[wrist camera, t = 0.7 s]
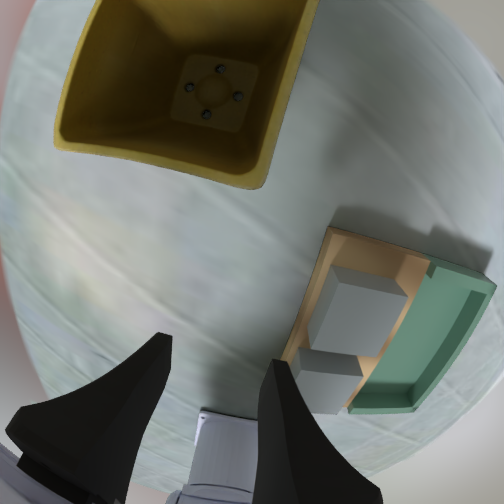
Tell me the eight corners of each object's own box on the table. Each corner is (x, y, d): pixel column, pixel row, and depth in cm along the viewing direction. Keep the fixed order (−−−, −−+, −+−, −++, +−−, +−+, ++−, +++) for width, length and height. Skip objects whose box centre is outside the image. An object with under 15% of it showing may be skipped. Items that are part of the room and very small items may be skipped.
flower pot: (302, 50, 14) (327, -23, 5) (265, 172, 17) (261, 195, 8) (174, 29, 13) (113, -33, 5) (139, 143, 16) (48, 149, 8)
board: (344, 395, 24) (347, 407, 22) (268, 387, 24) (268, 399, 22) (420, 252, 18) (430, 261, 16) (327, 226, 18) (333, 233, 16)
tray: (407, 396, 24) (413, 412, 22) (344, 395, 24) (348, 414, 21) (482, 273, 18) (497, 285, 16) (420, 252, 18) (436, 266, 16)
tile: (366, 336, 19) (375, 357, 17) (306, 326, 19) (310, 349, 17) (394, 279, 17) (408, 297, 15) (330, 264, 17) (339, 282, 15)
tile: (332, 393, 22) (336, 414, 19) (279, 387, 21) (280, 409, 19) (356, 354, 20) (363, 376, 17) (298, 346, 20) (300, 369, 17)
